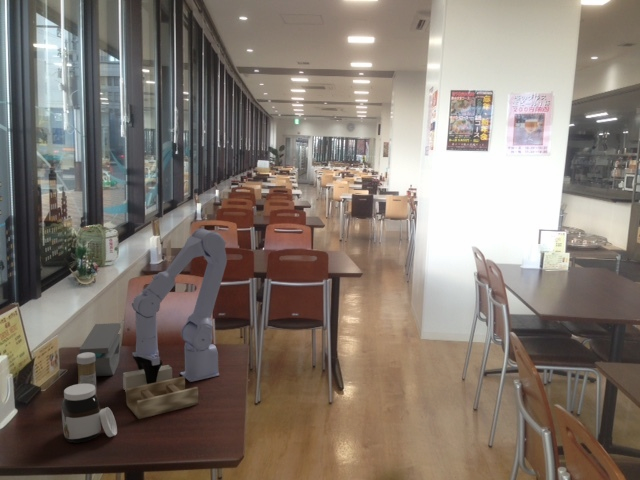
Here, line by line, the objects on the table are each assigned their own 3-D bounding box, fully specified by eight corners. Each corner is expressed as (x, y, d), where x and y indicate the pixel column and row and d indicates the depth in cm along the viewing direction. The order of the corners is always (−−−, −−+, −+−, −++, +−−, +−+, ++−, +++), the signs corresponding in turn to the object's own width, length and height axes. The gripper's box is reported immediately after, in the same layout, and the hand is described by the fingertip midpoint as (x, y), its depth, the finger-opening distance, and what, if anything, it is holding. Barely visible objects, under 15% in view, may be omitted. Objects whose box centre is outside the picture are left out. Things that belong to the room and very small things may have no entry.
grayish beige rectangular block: (168, 380, 173) (168, 364, 172) (172, 385, 170) (172, 368, 169) (123, 389, 166) (122, 372, 165) (126, 394, 163) (125, 376, 162)
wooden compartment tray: (183, 391, 165) (183, 376, 164) (198, 404, 157) (198, 388, 156) (126, 405, 155) (125, 388, 155) (138, 419, 147) (138, 402, 147)
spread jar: (59, 432, 140) (56, 386, 139) (107, 419, 147) (105, 375, 145) (73, 452, 131) (70, 403, 129) (123, 438, 138) (121, 391, 136)
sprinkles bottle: (82, 399, 159) (79, 351, 157) (99, 399, 159) (97, 351, 157) (76, 406, 154) (74, 357, 152) (94, 406, 155) (92, 357, 153)
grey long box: (109, 384, 169) (108, 347, 168) (81, 385, 168) (79, 349, 166) (121, 354, 194) (120, 323, 192) (96, 356, 192) (95, 324, 191)
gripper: (124, 331, 169) (126, 376, 171) (141, 345, 158) (142, 393, 160) (148, 327, 173) (150, 371, 175) (166, 340, 162) (167, 387, 164)
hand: (148, 381), depth 168 cm, fingers open, 5 cm apart
